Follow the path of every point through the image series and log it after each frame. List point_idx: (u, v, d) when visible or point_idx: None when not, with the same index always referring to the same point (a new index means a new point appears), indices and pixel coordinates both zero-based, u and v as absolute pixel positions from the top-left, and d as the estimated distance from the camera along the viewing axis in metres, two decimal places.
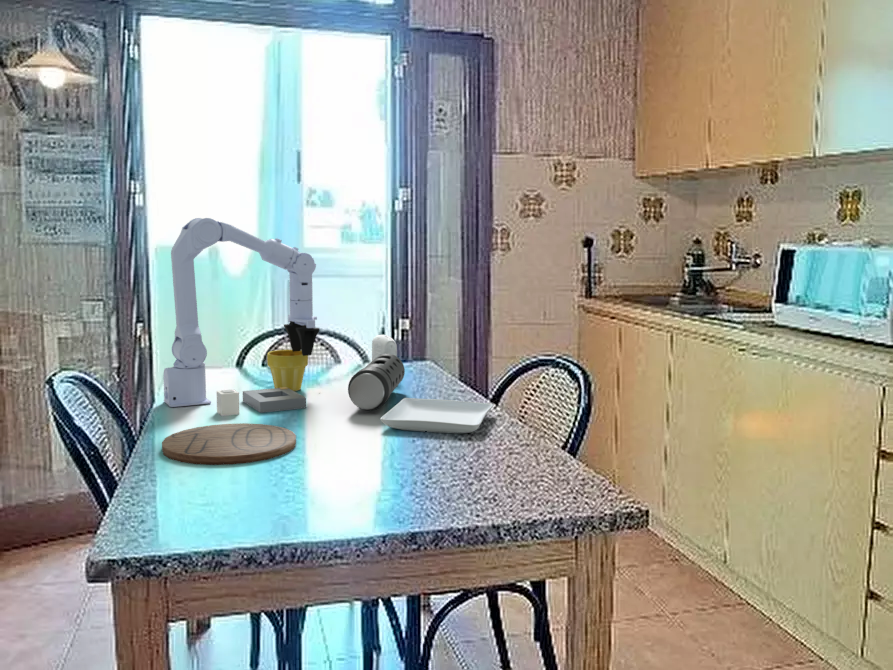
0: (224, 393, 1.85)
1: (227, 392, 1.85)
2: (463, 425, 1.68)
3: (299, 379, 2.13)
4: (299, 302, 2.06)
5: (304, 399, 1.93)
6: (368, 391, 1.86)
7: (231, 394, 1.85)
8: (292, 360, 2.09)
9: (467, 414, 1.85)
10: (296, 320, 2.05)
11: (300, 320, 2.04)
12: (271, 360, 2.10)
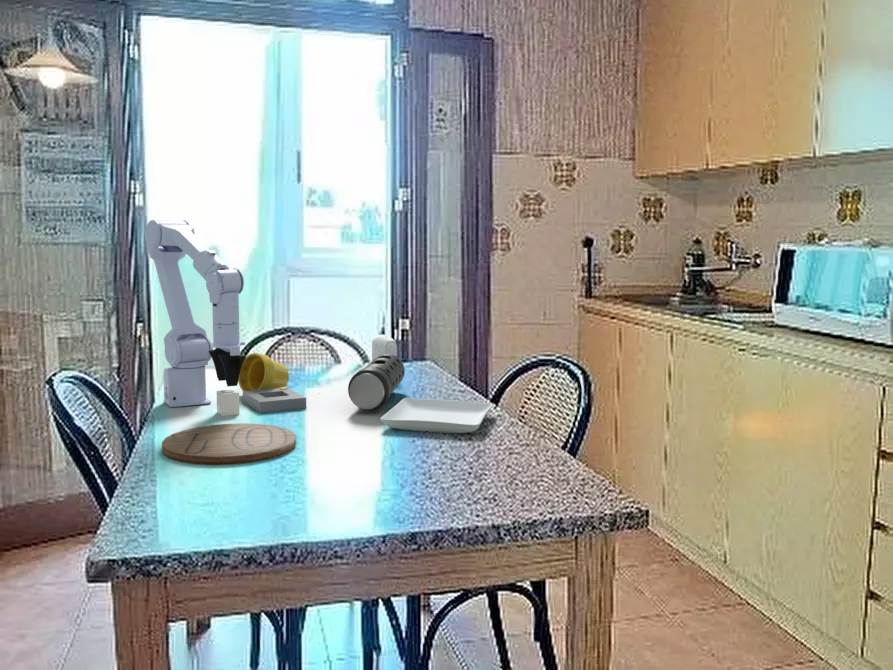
0: (224, 393, 1.85)
1: (227, 392, 1.85)
2: (463, 425, 1.68)
3: (281, 375, 2.08)
4: (223, 326, 1.82)
5: (304, 399, 1.93)
6: (368, 391, 1.86)
7: (231, 394, 1.85)
8: (265, 385, 2.03)
9: (467, 414, 1.85)
10: (219, 346, 1.82)
11: (223, 346, 1.81)
12: None
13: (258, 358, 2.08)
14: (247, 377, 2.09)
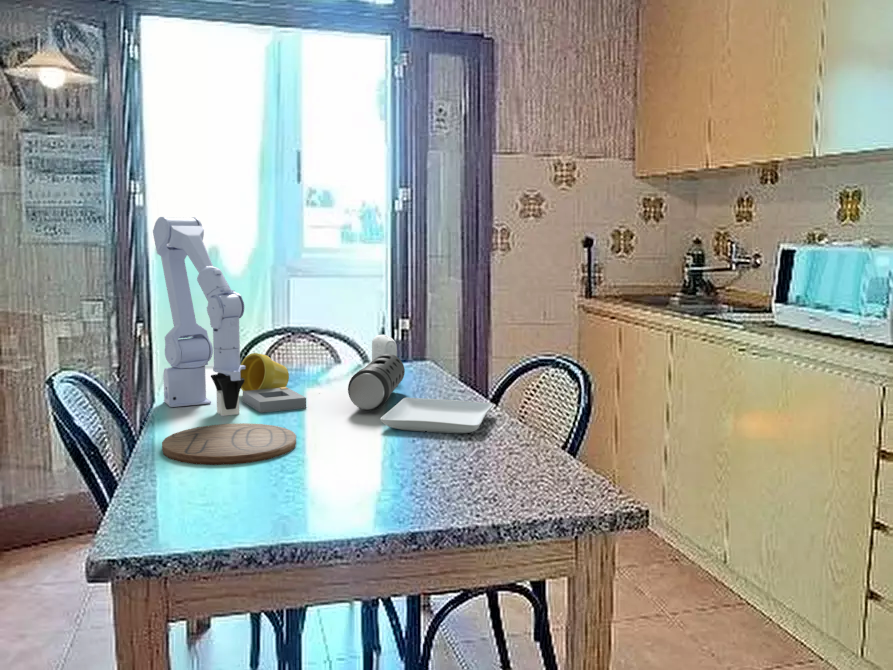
0: None
1: None
2: (463, 425, 1.68)
3: (281, 375, 2.08)
4: (223, 351, 1.82)
5: (304, 399, 1.93)
6: (368, 391, 1.86)
7: None
8: (265, 385, 2.03)
9: (467, 414, 1.85)
10: (220, 371, 1.82)
11: (224, 371, 1.81)
12: None
13: (258, 358, 2.08)
14: (247, 377, 2.09)
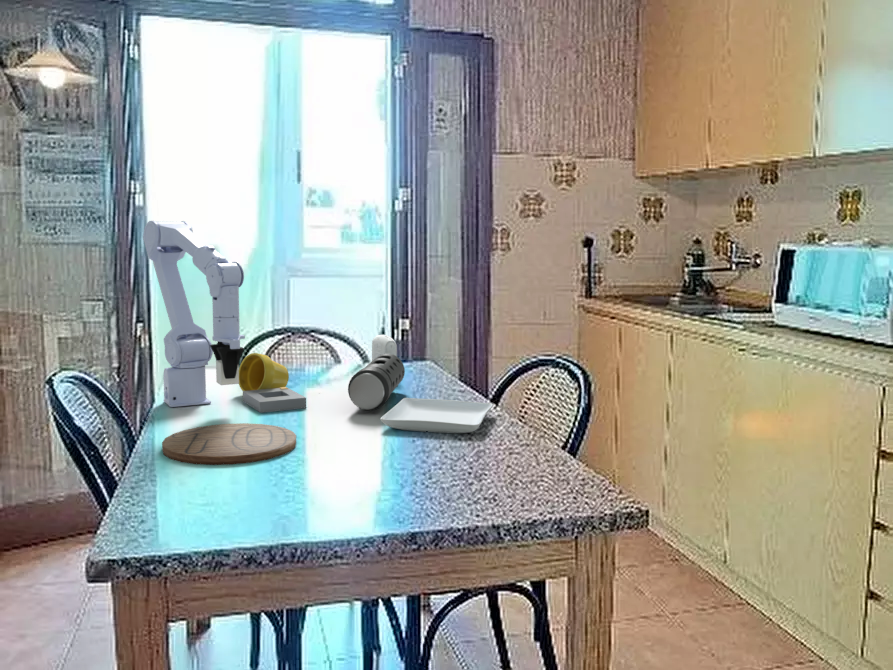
0: None
1: None
2: (463, 425, 1.68)
3: (281, 375, 2.08)
4: (223, 319, 1.82)
5: (304, 399, 1.93)
6: (368, 391, 1.86)
7: None
8: (265, 385, 2.03)
9: (467, 414, 1.85)
10: (219, 340, 1.82)
11: (223, 340, 1.81)
12: None
13: (258, 358, 2.08)
14: (247, 377, 2.09)
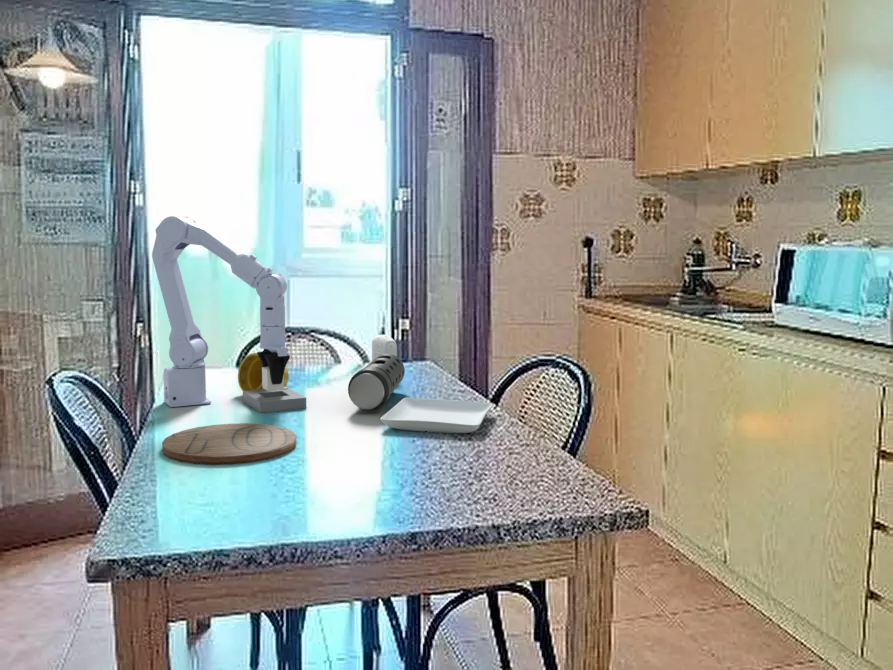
0: None
1: None
2: (463, 425, 1.68)
3: None
4: (270, 328, 1.91)
5: (304, 399, 1.93)
6: (368, 391, 1.86)
7: None
8: None
9: (467, 414, 1.85)
10: (267, 347, 1.91)
11: (271, 347, 1.90)
12: None
13: (258, 358, 2.08)
14: (247, 377, 2.09)
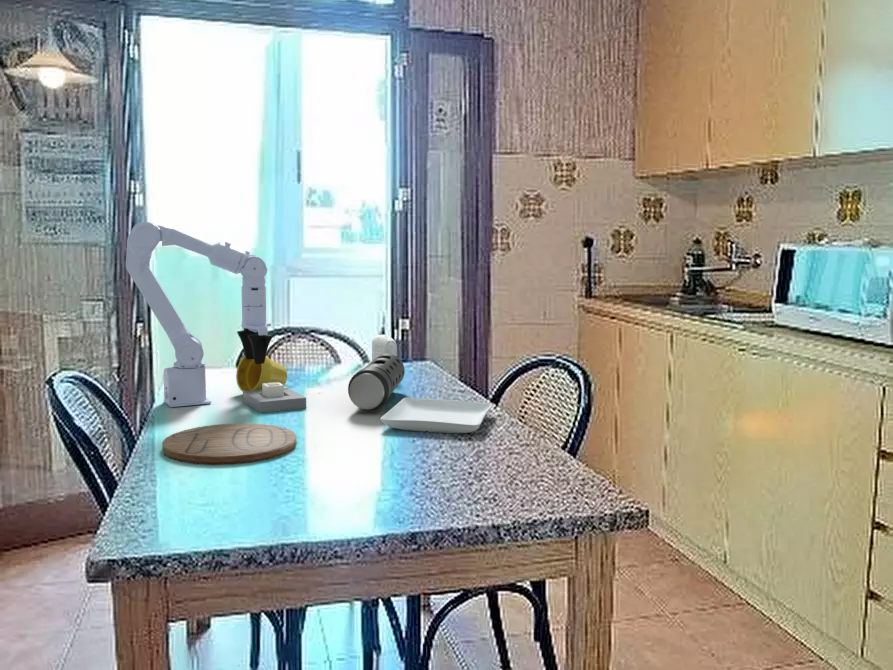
0: (270, 385, 1.94)
1: (273, 385, 1.95)
2: (463, 425, 1.68)
3: (279, 372, 2.08)
4: (251, 308, 1.97)
5: (304, 399, 1.93)
6: (368, 391, 1.86)
7: (276, 386, 1.94)
8: (264, 380, 2.03)
9: (467, 414, 1.85)
10: (248, 327, 1.97)
11: (252, 327, 1.96)
12: None
13: None
14: (245, 379, 2.10)
